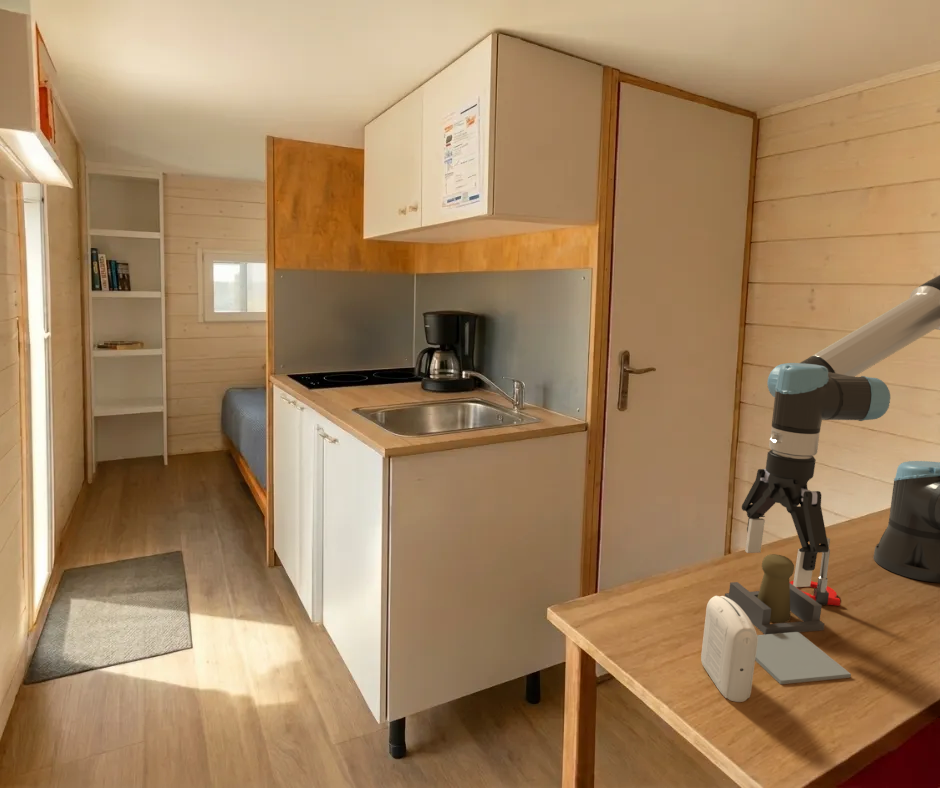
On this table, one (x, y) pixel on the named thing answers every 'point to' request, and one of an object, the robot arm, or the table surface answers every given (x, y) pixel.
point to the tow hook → (823, 584)
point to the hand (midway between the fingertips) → (775, 568)
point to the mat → (796, 659)
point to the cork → (776, 586)
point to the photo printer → (729, 648)
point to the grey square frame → (761, 612)
